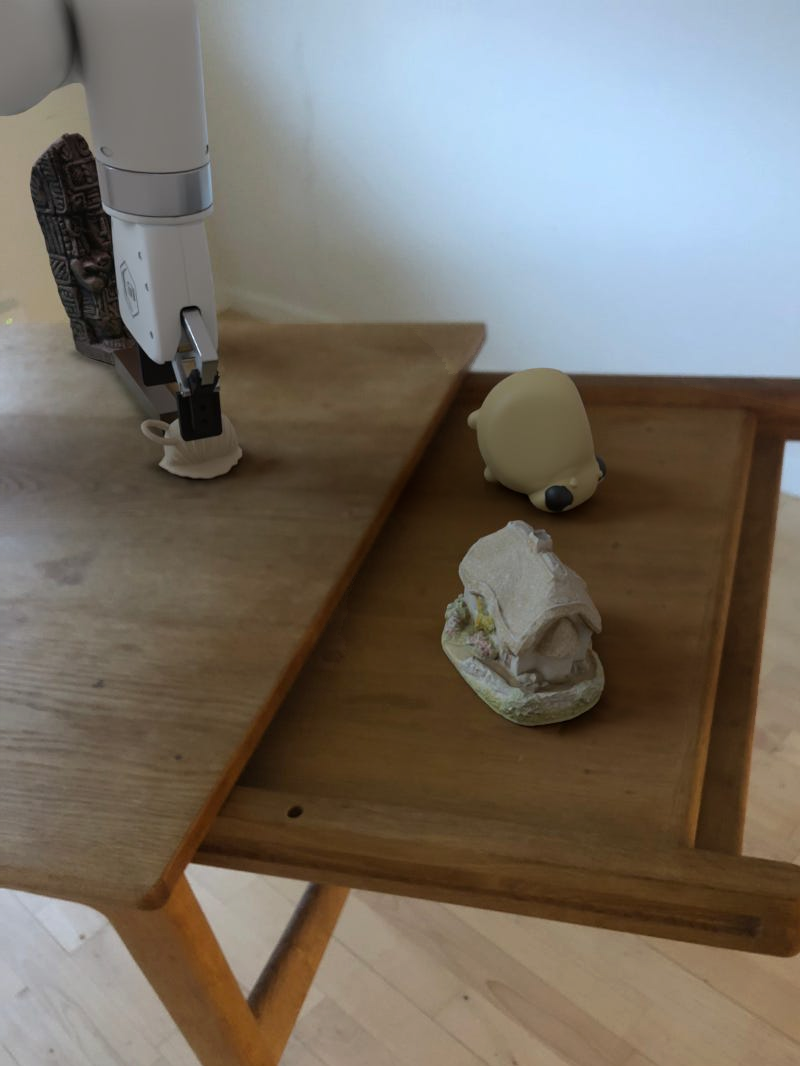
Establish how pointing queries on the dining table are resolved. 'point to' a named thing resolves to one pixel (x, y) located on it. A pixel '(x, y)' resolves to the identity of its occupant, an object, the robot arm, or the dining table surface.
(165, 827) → the dining table surface
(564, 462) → the toy pig
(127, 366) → the walnut stick
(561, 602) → the ceramic model
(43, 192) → the statue
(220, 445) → the decorative ornament
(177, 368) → the robot arm
